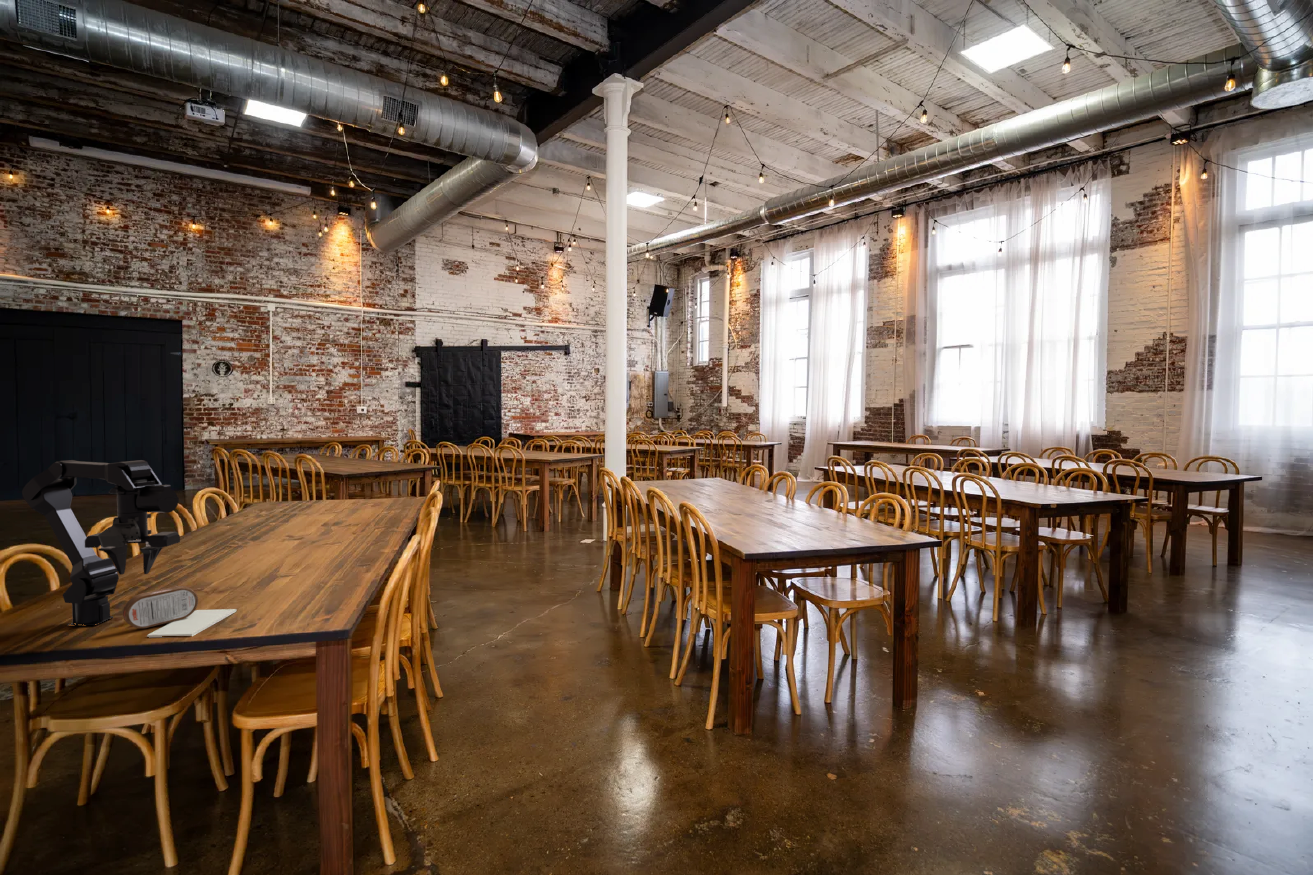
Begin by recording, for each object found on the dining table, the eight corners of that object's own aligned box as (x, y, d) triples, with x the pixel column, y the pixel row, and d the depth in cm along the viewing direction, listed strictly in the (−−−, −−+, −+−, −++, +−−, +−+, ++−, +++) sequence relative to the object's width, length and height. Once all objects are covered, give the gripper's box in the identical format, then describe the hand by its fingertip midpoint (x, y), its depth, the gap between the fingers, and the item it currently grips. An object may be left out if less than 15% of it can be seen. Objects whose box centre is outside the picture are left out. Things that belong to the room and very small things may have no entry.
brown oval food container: (197, 613, 168) (194, 581, 168) (201, 615, 166) (197, 583, 166) (124, 631, 157) (120, 597, 156) (127, 633, 155) (123, 599, 154)
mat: (147, 637, 153) (147, 635, 153) (196, 612, 172) (196, 610, 172) (192, 636, 154) (191, 634, 154) (236, 611, 173) (236, 609, 173)
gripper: (65, 517, 151) (67, 583, 151) (150, 516, 152) (152, 582, 153) (101, 509, 162) (103, 571, 162) (180, 509, 164) (182, 570, 164)
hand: (134, 574), depth 160 cm, fingers open, 5 cm apart
